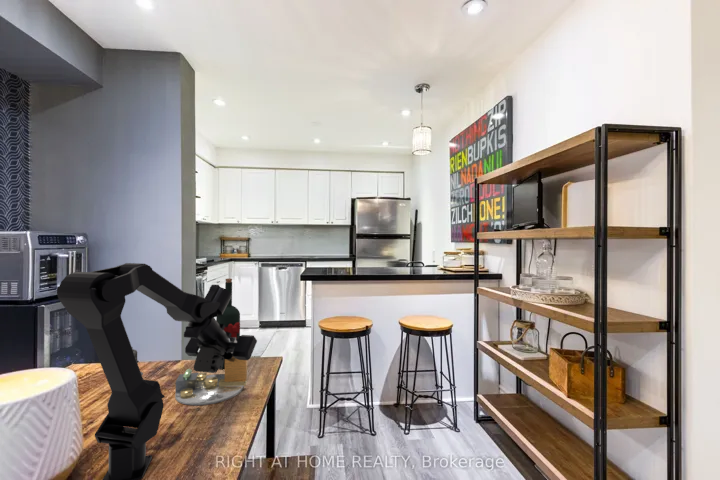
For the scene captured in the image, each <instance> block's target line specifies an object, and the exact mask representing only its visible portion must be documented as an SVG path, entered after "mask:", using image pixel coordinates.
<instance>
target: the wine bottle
mask: <svg viewBox="0 0 720 480" xmlns="http://www.w3.org/2000/svg"><path fill="white" fill-rule="evenodd" d="M224 285H225V286H224V287H225V288H224V289H226V290H228V291H229V292H231V294H232V295H233V278H225V284H224ZM215 320H216V321H217V322H218V324H224V325H225V328H224V331H225V332H230V333H231V334H232V335H231V337H236V339H239V337H240V336H241V313H240V310H239V308H237V307H236V306H234V305H233V296H232V297H231V299H230V301H229V303H228V305H227V307H226V309H225V311H224V312H223V314H222V316H217V317H215ZM221 370H225V359H224V363H223V367H222V369H221Z"/></svg>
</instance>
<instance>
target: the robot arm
mask: <svg viewBox="0 0 720 480" xmlns="http://www.w3.org/2000/svg"><path fill="white" fill-rule="evenodd" d="M136 291H138V292H139V293H141V294H143V295H145V296H146V297H148V298H149V299H151V300H153V301H154V302H157V303H158V304H160V305H161V306H163V307H164V308H165V309H166V314H167V315H168V316H170V317H171V318H172V319H173V320H174V321H176V322H184V323H188V324H187V326H185V331H184V332H183V338H185V339H186V338H188V339H189V341H188V342H187V344H186V346H185V347H184V352H185V354H186V355H187V356H188V357H196V358H195V361H194V364H193V371H195V372H198V373H202V372H204V373H210V374H216V373H217V372H218V370H223V369H222V367H223V363H224V359H226V360H228V361H231V362H234V361H235V358H236V359H238V360H247V361H249V360H250V359H251V357H252V355H253V352H254V350H255V347H256V344H257V342H258V339H256V336H255V335H251V334H249V335H248V334H240V337H239V339H236V337H231V335H232V334H231V333H230V332H225V331H224V328H225V325H224V324H218V322H217V321H216V317H217V316H222V314H223V312H224V311H225V309H226V307H227V305H228V303H229V301H230V299H231V297H232V298H233V293H232V294H231V292H229V291H228V290H226V289H225V288H224V287H222V286H220V284H211V285H210V287H209V289H208V291H207V294H206V295H205V297H202V296H200V295H199V294H198V295H197V294H192V293H189V292H186V291H184V290H182V289H181V288H180V287H178V286H176V285H175V284H174V283H173V282H171V281H169V280H168V279H166V278H165V277H163V276H162V275H160V274H159V273H158V272H156V271H154V270H153V268H152V266H150V265H148V264H146V263H139V262H138V263H135V262H133V263H131V262H126V263H123V264H120V265H116V266H113V267H109V268H103V269H97V270H94V271H93V270H92V271H75V272H71V273H68V274H67V275H66V276H65V277H64V278H63V279H62V280H61V282H60V284H59V285H58V286H57V287H56V295H57V299H58V300H59V302H60V303H61V304H62V306H63V307H64V308H65V310H66V311H67V313H68V314H69V315H70V316H72V317H73V318H74V319H76V320H77V321H78V322H79V323H80V324H82V325H83V326H84V327H85V329H86V332H87V334H88V336H89V339H90V341H91V343H92V346H93V348H94V351H95V354H96V356H97V358H98V361H99V364H100V367H101V368H102V371H103V373H104V375H105V378H106V380H107V383H108V385H109V388H110V390H111V394H110V396H109V399H108V401H107V411H108V413H107V415H106V416H105V418H104V419H103V420H102V422H101V423H100V425H99V427H98V429H97V430H96V431H95V433H94V438H95V440H96V442H97V443H98V444H101V443H102V444H108V470H107V471H106V473H105V474H104V475H103V478H102V479H101V480H142V479H143V477H144V476H145V473H146V471H147V470H148V467H149V465H150V463H151V461H152V457H153V455H151V454H150V455H147V450H146V449H147V448H146V447H147V442H148V441H149V440H151V439H153V438H154V437H155V436H156V435H157V434H158V431H159V427H160V423H161V419H162V414H163V411H164V401H163V399H165V395H164V393H162V389H161V385H160V383H159V381H158V380H150V379H144V377H143V375H141V372H142V371H141V369H140V366H139V362H138V363H137V361H136V358H135V355H134V352H133V349H134V348H132V347H133V346H132V344H131V342H130V339H129V335H128V333H127V331H126V327H125V324H124V322H123V319H122V313H123V310H124V306H125V305H126V296H128V295H132V294H133V293H135V292H136Z"/></svg>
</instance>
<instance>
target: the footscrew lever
mask: <svg viewBox="0 0 720 480" xmlns="http://www.w3.org/2000/svg"><path fill="white" fill-rule="evenodd" d="M224 374H225V379H221V380H220V381H219V386H244V387H245V386H247V384H248V360H238V359H236V358H235V361H234V362H231V361H228V360H226V359H225V369H224ZM217 384H218V378H217V377H210V378H207V379H205V380H204V387H206V388H210V387H214V386H216V385H217Z"/></svg>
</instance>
